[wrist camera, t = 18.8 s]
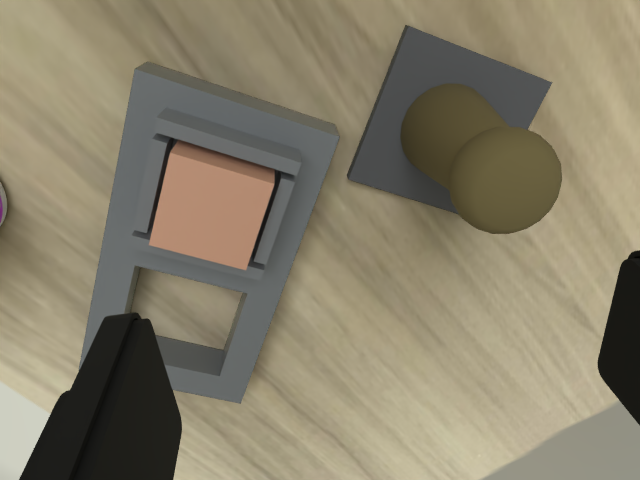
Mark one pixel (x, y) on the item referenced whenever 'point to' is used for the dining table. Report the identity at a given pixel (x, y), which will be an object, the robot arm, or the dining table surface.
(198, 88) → the frame
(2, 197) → the supplement bottle
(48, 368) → the dining table surface
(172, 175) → the salmon square block
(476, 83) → the rubber mat
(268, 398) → the dining table surface
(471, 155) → the brown pawn
